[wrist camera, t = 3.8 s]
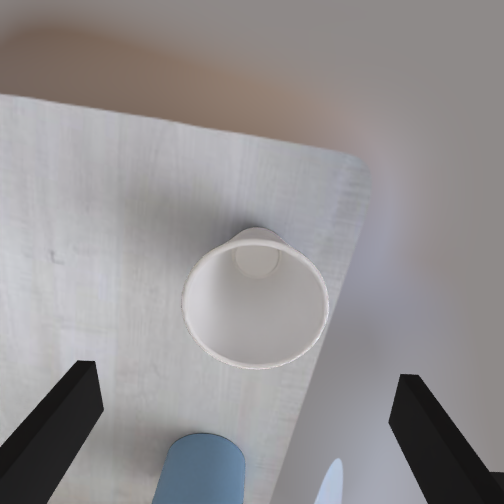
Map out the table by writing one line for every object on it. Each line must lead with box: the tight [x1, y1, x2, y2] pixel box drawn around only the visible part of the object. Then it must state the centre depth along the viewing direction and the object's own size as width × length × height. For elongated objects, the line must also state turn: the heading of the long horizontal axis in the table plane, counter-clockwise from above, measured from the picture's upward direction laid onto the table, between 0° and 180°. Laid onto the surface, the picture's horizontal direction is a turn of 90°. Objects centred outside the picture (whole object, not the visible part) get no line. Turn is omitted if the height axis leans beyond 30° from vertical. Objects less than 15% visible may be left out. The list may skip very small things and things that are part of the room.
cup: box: [181, 227, 329, 370], centre depth 24 cm, size 10×10×11 cm
